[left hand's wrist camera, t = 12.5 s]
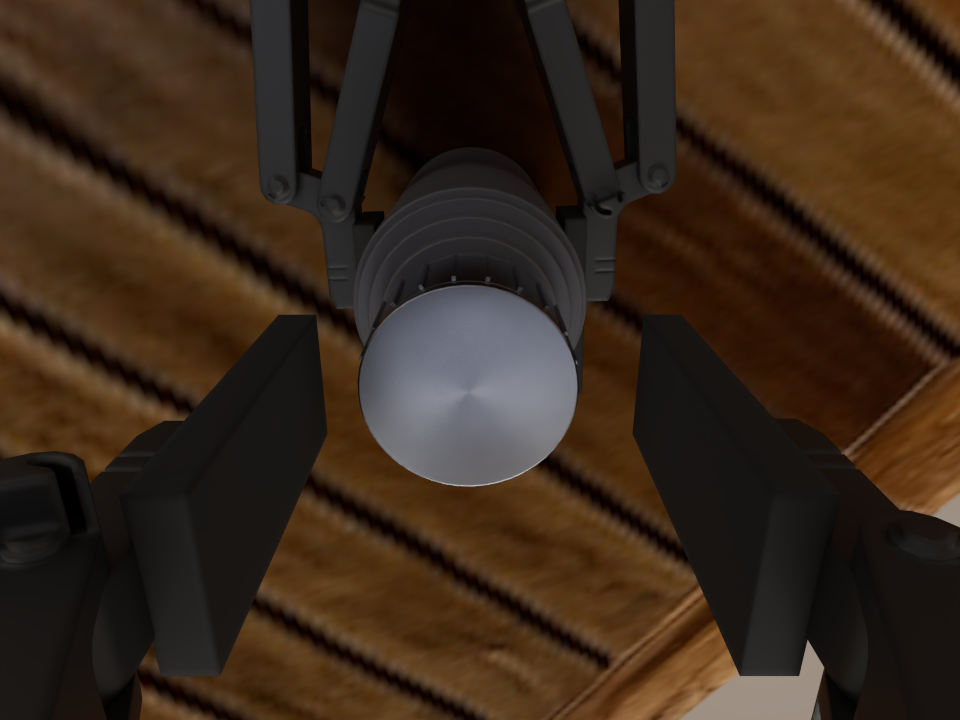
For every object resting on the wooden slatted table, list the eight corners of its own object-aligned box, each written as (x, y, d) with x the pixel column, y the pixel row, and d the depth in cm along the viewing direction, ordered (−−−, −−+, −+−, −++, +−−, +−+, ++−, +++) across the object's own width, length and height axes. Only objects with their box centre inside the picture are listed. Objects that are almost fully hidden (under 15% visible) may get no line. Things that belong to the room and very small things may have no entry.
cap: (580, 262, 15) (599, 293, 13) (551, 441, 17) (563, 498, 14) (376, 243, 15) (359, 271, 12) (368, 426, 16) (351, 479, 14)
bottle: (552, 155, 30) (656, 242, 13) (533, 296, 32) (598, 529, 15) (404, 139, 29) (309, 207, 12) (396, 283, 32) (307, 505, 15)
